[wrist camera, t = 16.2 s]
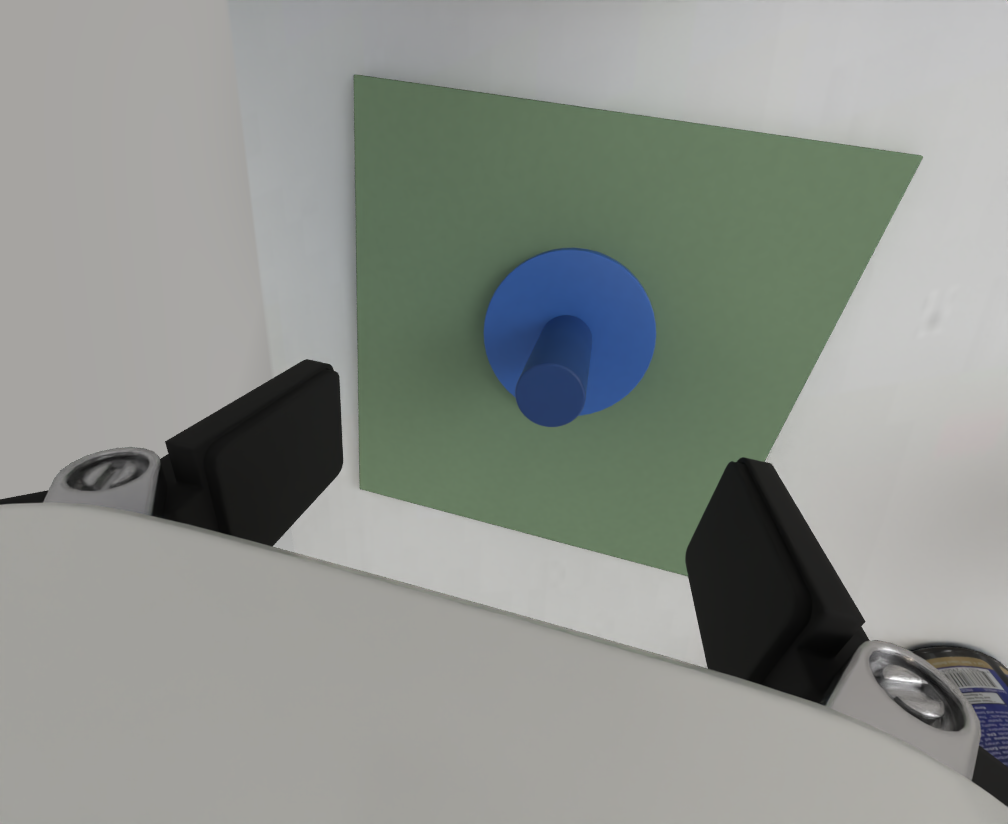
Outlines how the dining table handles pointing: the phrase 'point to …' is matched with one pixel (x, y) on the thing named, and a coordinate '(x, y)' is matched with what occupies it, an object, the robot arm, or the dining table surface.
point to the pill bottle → (978, 691)
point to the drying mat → (636, 245)
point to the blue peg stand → (569, 334)
